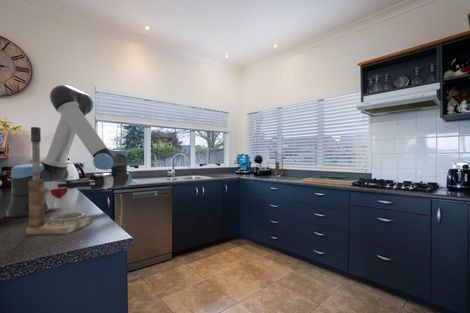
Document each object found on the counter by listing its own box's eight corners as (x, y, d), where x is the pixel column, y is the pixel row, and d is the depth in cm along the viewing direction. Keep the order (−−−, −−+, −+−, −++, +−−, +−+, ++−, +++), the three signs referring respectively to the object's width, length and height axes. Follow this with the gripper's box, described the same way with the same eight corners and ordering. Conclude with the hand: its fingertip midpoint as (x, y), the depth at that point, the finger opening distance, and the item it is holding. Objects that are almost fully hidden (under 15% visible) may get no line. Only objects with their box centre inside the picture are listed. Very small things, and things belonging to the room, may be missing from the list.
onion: (58, 200, 101) (58, 181, 101) (47, 199, 102) (47, 180, 102) (70, 197, 107) (70, 179, 106) (59, 197, 108) (59, 179, 108)
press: (57, 222, 97) (56, 131, 97) (91, 222, 97) (90, 130, 97) (26, 233, 83) (25, 126, 83) (65, 233, 83) (64, 126, 83)
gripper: (111, 190, 115) (54, 197, 95) (91, 187, 124) (35, 192, 105) (111, 174, 115) (54, 178, 95) (91, 172, 124) (35, 175, 105)
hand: (44, 185), depth 100 cm, fingers closed on onion, 5 cm apart
